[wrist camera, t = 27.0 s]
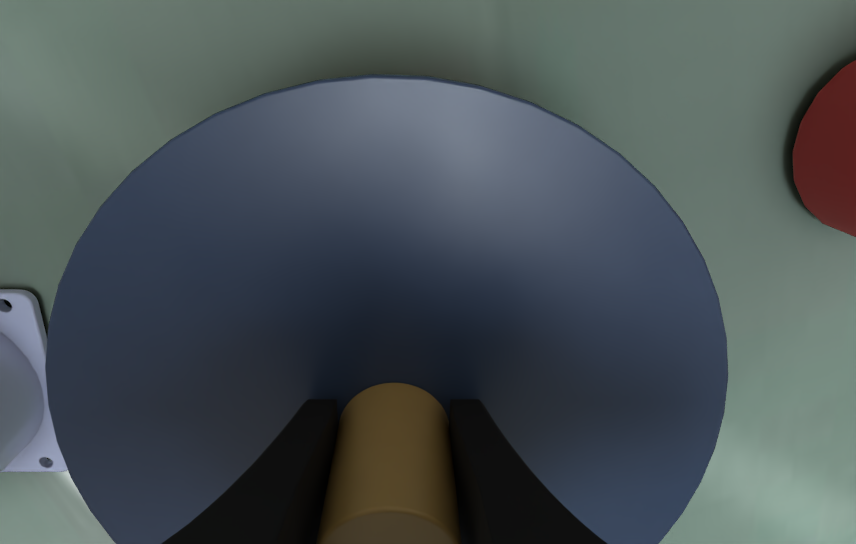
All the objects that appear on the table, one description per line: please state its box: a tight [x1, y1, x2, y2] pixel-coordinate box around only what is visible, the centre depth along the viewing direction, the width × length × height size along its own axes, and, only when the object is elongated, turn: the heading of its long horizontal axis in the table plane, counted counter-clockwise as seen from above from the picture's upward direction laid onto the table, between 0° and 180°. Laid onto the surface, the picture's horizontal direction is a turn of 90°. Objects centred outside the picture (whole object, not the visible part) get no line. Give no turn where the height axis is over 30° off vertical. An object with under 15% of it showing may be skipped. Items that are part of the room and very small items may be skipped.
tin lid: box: [45, 74, 728, 544], centre depth 11 cm, size 15×15×5 cm
